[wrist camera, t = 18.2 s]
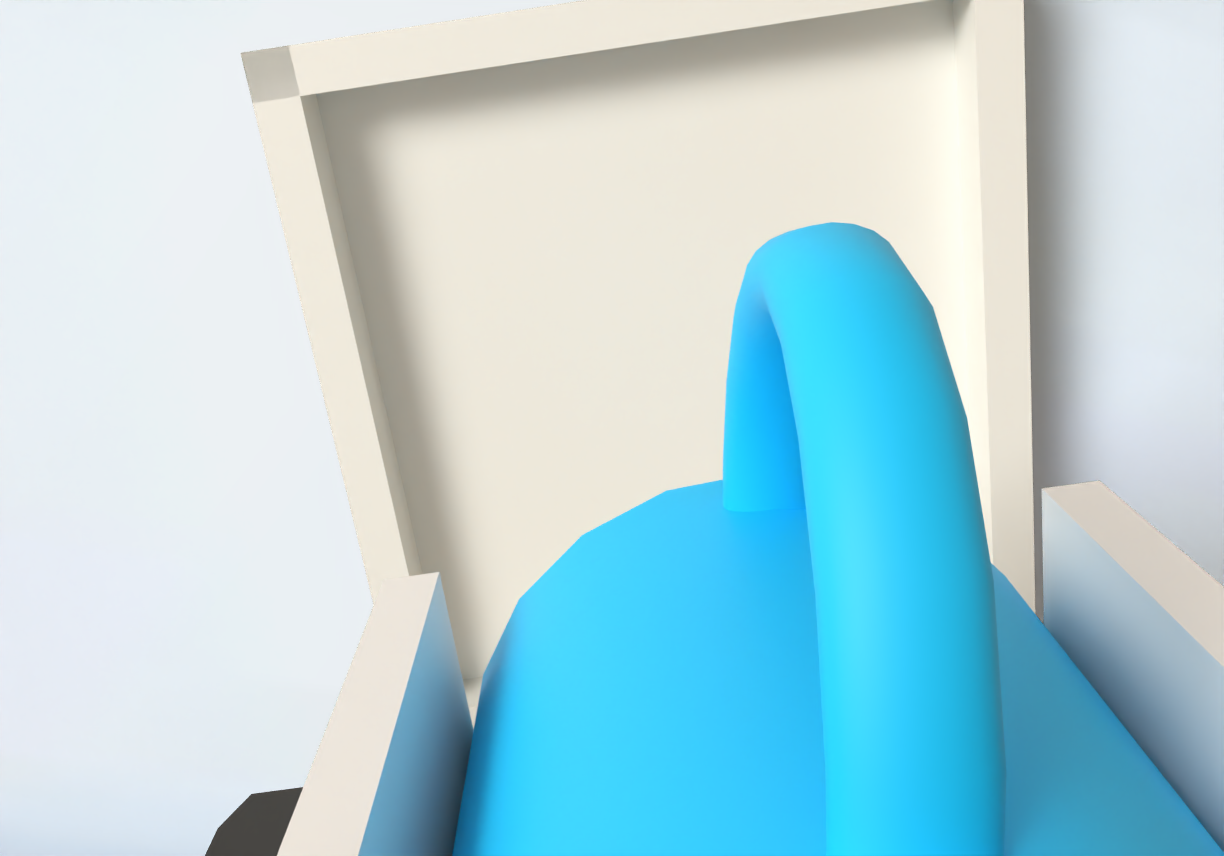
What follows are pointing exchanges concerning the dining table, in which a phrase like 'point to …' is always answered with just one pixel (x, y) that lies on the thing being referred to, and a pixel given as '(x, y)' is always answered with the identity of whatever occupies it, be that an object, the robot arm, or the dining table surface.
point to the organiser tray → (625, 252)
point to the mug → (807, 629)
